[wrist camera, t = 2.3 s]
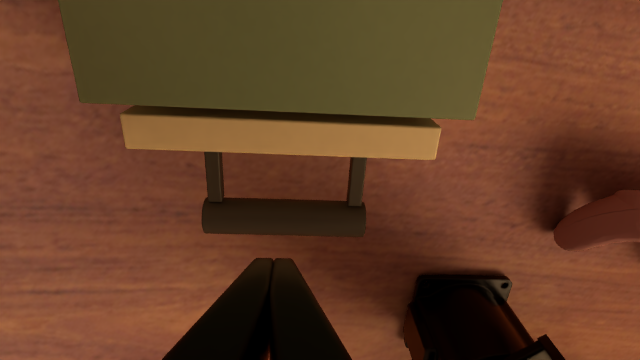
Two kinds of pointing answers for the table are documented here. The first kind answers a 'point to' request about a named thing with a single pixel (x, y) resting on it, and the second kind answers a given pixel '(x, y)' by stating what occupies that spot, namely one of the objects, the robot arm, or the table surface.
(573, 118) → the table surface
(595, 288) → the table surface
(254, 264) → the robot arm
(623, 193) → the pink toy car
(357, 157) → the drawer
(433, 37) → the cabinet
